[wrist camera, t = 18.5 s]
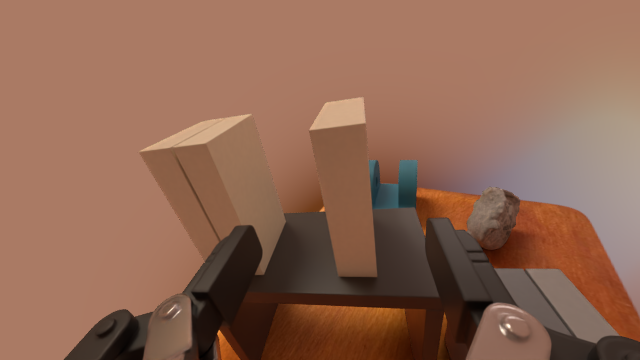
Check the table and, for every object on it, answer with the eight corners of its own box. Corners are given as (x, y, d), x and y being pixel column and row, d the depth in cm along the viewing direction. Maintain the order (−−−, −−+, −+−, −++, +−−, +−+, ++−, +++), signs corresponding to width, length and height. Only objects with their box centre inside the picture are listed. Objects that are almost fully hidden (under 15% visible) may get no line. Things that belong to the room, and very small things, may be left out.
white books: (212, 274, 20) (138, 151, 14) (245, 222, 26) (202, 121, 20) (263, 275, 19) (205, 142, 13) (286, 221, 25) (252, 113, 19)
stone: (520, 273, 31) (542, 215, 26) (462, 259, 34) (472, 206, 29) (511, 228, 37) (527, 176, 33) (463, 220, 41) (471, 172, 36)
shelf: (247, 370, 26) (190, 289, 19) (274, 291, 35) (242, 215, 28) (431, 390, 22) (446, 297, 15) (411, 295, 31) (414, 207, 24)
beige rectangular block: (338, 276, 18) (308, 129, 12) (343, 219, 24) (325, 102, 18) (377, 277, 17) (365, 122, 11) (372, 218, 23) (363, 96, 17)
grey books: (470, 426, 20) (498, 361, 14) (444, 338, 26) (456, 267, 20) (575, 441, 18) (656, 374, 12) (521, 343, 24) (559, 268, 18)
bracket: (367, 193, 53) (364, 153, 48) (415, 196, 49) (417, 152, 44) (349, 251, 39) (341, 202, 34) (414, 261, 35) (417, 207, 30)
